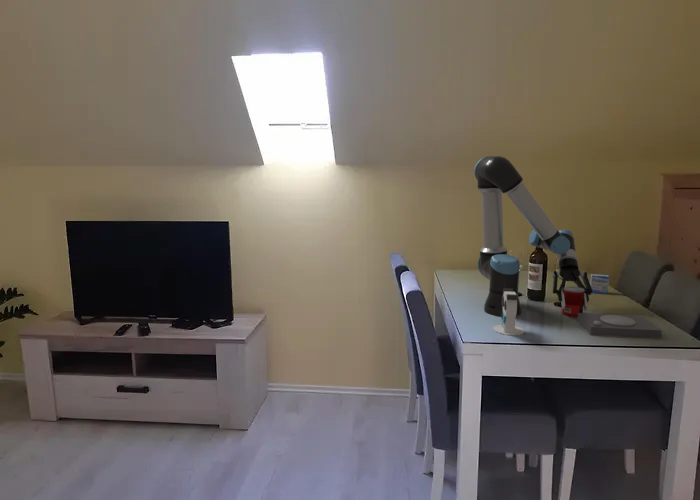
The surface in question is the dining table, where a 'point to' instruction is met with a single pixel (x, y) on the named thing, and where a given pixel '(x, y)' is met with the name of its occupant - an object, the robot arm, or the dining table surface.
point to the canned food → (573, 301)
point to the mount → (618, 325)
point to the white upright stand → (509, 314)
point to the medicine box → (599, 283)
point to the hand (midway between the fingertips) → (574, 308)
